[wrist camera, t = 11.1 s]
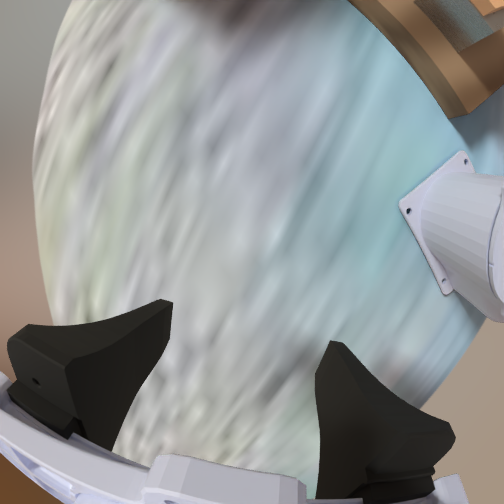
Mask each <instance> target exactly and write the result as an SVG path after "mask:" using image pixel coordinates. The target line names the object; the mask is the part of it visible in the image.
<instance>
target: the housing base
mask: <svg viewBox="0 0 504 504" xmlns="http://www.w3.org/2000/svg"><path fill="white" fill-rule="evenodd" d="M414 3H415V4H416V5H417V6H418V7H419V9H420V10H421V11H422V12H423V13H424V14H425V15H426V16H427V17H428V18H429V19H430V20H431V21H432V23H433V24H434V25H435V26H436V27H437V28H438V29H439V31H440V32H441V33H442V34H443V35H444V37H445V38H446V39H447V40H448V42H449V43H450V44H451V45H452V47H453V48H454V49H455V51H456V52H457V53H458V52H460V51H462V50H463V49H465V48H467V47H469V46H470V45H472V44H474V43H476V42H478V41H479V40H481V39H483V38H485V37H487V36H489V35H490V34H492V33H494V32H496V31H498V30H499V29H501V28H503V27H504V9H501V10H498V11H496V12H493V13H490V14H488V15H485V16H483V15H482V14H481V13H480V11H479V10H478V9H477V8H476V6H475V5H474V4H473V3H472V2H471V1H470V0H414Z"/></svg>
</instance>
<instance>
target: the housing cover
mask: <svg viewBox="0 0 504 504" xmlns="http://www.w3.org/2000/svg"><path fill="white" fill-rule="evenodd" d="M470 1H471V2H472V3H473V4H474V5H475V6H476V8H477V9H478V10H479V11H480V13H481V14H482V15H483V16H485V15H488V14H490V13H493V12H496V11H498V10H501V9H504V0H470Z"/></svg>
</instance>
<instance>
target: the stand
mask: <svg viewBox="0 0 504 504" xmlns="http://www.w3.org/2000/svg"><path fill="white" fill-rule="evenodd" d="M348 1H349V2H350V3H351V4H352V5H354V6H355V7H356V8H357V9H358V10H359V11H360V12H361V13H362V14H363V15H365V16H366V17H367V18H368V19H369V20H370V21H371V22H372V23H373V24H374V25H375V26H376V27H377V28H378V29H379V30H380V31H381V32H382V33H383V34H384V35H385V37H386V38H387V39H388V40H389V41H390V42H391V43H392V44H393V45H394V46H395V48H396V49H397V50H398V51H399V52H400V53H401V54H402V56H403V57H404V58H405V59H406V60H407V62H408V63H409V64H410V65H411V67H412V68H413V69H414V70H415V72H416V73H417V74H418V76H419V77H420V78H421V79H422V81H423V82H424V84H425V85H426V86H427V88H428V89H429V91H430V92H431V93H432V95H433V96H434V98H435V99H436V101H437V102H438V104H439V105H440V107H441V108H442V110H443V111H444V113H445V115H446V116H447V118H448V119H450V118H454V117H458V116H463V115H467V114H469V113H471V112H472V111H473V110H474V109H475V108H477V107H478V106H479V105H480V104H481V103H482V102H484V101H485V100H486V99H487V98H488V97H489V96H491V95H492V94H493V93H494V92H495V91H496V90H498V89H499V88H500V87H501V86H502V85H503V84H504V27H503V28H501V29H499V30H498V31H496V32H494V33H492V34H490V35H489V36H487V37H485V38H483V39H481V40H479V41H478V42H476V43H474V44H472V45H470V46H469V47H467V48H465V49H463V50H462V51H460V52H458V53H457V52H456V51H455V49H454V48H453V47H452V45H451V44H450V43H449V42H448V40H447V39H446V38H445V37H444V35H443V34H442V33H441V32H440V31H439V29H438V28H437V27H436V26H435V25H434V24H433V23H432V21H431V20H430V19H429V18H428V17H427V16H426V15H425V14H424V13H423V12H422V11H421V10H420V9H419V7H418V6H417V5H416V4H415V3H414V0H348Z"/></svg>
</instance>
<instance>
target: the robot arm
mask: <svg viewBox="0 0 504 504" xmlns="http://www.w3.org/2000/svg"><path fill="white" fill-rule="evenodd" d="M464 160H465V161H466V164H464ZM398 207H399V209H400V211H401V213H402V214H403V216H404V218H405V220H406V221H407V223H408V225H409V227H410V228H411V230H412V232H413V234H414V236H415V238H416V240H417V241H418V243H419V245H420V247H421V249H422V251H423V253H424V255H425V257H426V259H427V261H428V263H429V265H430V267H431V269H432V271H433V273H434V276H435V278H436V280H437V282H438V284H439V287H440V289H441V291H442V293H443V294H445V295H448V294H449V293H450V292H451V291H453V290H456V291H457V292H458V293H459V294H461V295H462V296H463V297H464V298H465V299H467V300H468V301H469V302H470V303H471V304H472V305H474V306H475V307H476V308H477V309H478V310H479V311H481V312H482V313H483V314H484V315H485V316H486V317H487V318H489V319H491V320H493V321H496V322H502V323H504V176H497V175H488V174H477V173H476V172H475V170H474V168H473V166H472V164H471V161H470V159H469V157H468V155H467V154H466V152H465V151H458V152H457V153H456V154H455V155H454V156H453V157H451V158H450V159H449V160H448V161H447V162H446V163H445V164H443V165H442V166H441V167H440V168H439V169H438V170H436V171H435V172H434V173H433V174H432V175H430V176H429V177H428V178H427V179H426V180H424V181H423V182H422V183H421V184H420V185H418V186H417V187H416V188H415V189H414V190H412V191H411V192H410V193H409V194H407V195H406V196H405V197H404V198H402V199H401V200H400V201H399V204H398ZM408 208H409V209H410V213H409V214H407V213H406V210H407V209H408ZM443 279H444V281H443V282H442V280H443ZM172 310H173V302H170V301H166V300H163V299H159V300H156V301H154V302H152V303H149V304H147V305H145V306H142V307H140V308H137V309H135V310H132V311H130V312H127V313H124V314H121V315H119V316H116V317H113V318H109V319H106V320H102V321H97V322H93V323H86V324H79V325H69V326H43V325H33V324H28V325H26V326H25V327H24V328H22V329H21V330H20V331H18V332H17V333H16V334H14V335H13V336H12V337H11V338H9V340H8V342H7V350H8V355H9V358H10V361H11V364H12V367H13V369H14V372H15V375H16V378H17V380H16V381H15V382H14V383H13V384H12V382H11V381H10V379H9V378H8V377H7V376H6V375H4V374H3V373H2V372H1V371H0V453H1V454H3V455H4V456H5V457H6V458H7V459H8V460H9V461H10V462H11V463H12V464H14V465H15V466H16V467H17V468H18V469H19V470H20V471H22V472H23V473H24V474H25V475H26V476H28V477H29V478H30V479H32V480H33V481H34V482H35V483H37V484H38V485H39V486H41V487H42V488H43V489H44V490H46V491H47V492H49V493H50V494H51V495H53V496H54V497H56V498H57V499H59V500H60V501H62V502H63V503H65V504H469V502H468V499H467V496H466V493H465V491H464V488H463V485H462V482H461V480H460V477H459V475H458V474H457V473H456V474H453V475H449V476H445V477H441V478H438V479H436V480H434V481H433V480H432V477H431V475H433V474H434V473H435V470H434V467H433V466H434V465H435V464H436V463H437V462H438V461H439V460H440V459H441V458H442V457H443V456H444V455H445V454H446V453H447V452H448V451H449V450H450V449H451V448H452V446H453V444H454V442H455V438H456V437H455V435H454V432H453V430H452V428H451V426H450V424H449V422H446V421H443V420H441V419H438V418H436V417H433V416H431V415H429V414H427V413H424V412H423V411H421V410H419V409H417V408H415V407H413V406H411V405H410V404H408V403H407V402H405V401H404V400H402V399H401V398H399V397H398V396H396V395H395V394H394V393H392V392H391V391H390V390H389V389H388V388H386V387H385V386H384V385H383V384H382V383H381V382H379V381H378V380H377V379H376V378H375V377H374V376H373V375H372V374H371V373H370V372H369V371H368V370H367V369H366V367H365V366H364V365H363V364H362V363H361V362H360V361H359V360H358V359H357V357H356V356H355V355H354V354H353V353H352V352H351V351H350V350H349V349H348V347H347V346H346V345H345V344H344V343H342V342H337V341H331V340H330V342H329V344H328V347H327V349H326V351H325V353H324V356H323V358H322V360H321V362H320V365H319V367H318V369H317V371H316V373H315V397H316V405H317V412H318V420H319V428H320V461H319V474H318V483H317V491H316V497H315V499H306V485H305V484H303V483H302V482H301V481H299V480H298V479H296V478H295V477H290V476H286V475H281V474H275V473H267V472H260V471H254V470H248V469H243V468H237V467H232V466H227V465H223V464H218V463H214V462H210V461H206V460H202V459H198V458H195V457H191V456H185V455H179V454H165V455H158V456H157V457H156V458H155V460H154V461H153V463H152V465H151V468H149V467H146V466H143V465H141V464H138V463H136V462H133V461H131V460H128V459H126V458H124V457H121V456H119V455H117V454H115V453H113V452H112V449H113V446H114V444H115V441H116V439H117V436H118V434H119V431H120V429H121V426H122V424H123V422H124V419H125V417H126V415H127V413H128V410H129V408H130V406H131V404H132V402H133V400H134V398H135V396H136V394H137V392H138V391H139V389H140V387H141V386H142V384H143V383H144V381H145V380H146V378H147V377H148V375H149V374H150V372H151V371H152V369H153V368H154V367H155V365H156V364H157V362H158V361H159V359H160V357H161V356H162V354H163V352H164V350H165V348H166V346H167V344H168V341H169V339H170V330H171V320H172Z"/></svg>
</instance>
